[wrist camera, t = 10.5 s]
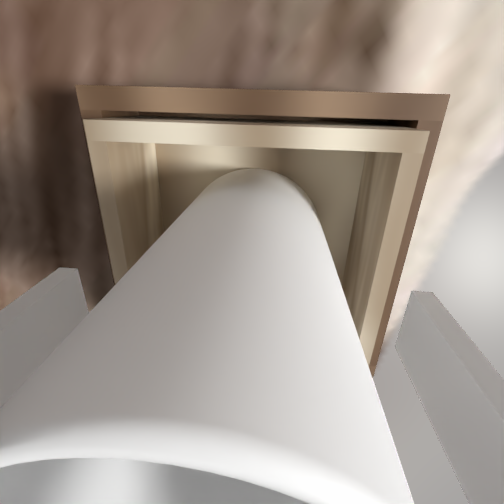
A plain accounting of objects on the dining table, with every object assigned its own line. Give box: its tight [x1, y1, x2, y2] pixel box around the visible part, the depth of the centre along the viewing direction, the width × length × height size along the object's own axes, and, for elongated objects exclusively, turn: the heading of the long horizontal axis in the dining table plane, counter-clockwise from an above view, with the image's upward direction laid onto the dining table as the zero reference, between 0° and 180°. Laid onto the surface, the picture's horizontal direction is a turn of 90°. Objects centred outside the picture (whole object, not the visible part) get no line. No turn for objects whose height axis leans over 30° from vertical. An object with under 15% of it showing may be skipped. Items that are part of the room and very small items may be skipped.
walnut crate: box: [75, 85, 450, 378], centre depth 19 cm, size 16×16×5 cm
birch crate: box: [83, 115, 430, 367], centre depth 17 cm, size 13×13×6 cm
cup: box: [0, 169, 414, 504], centre depth 12 cm, size 8×8×16 cm
